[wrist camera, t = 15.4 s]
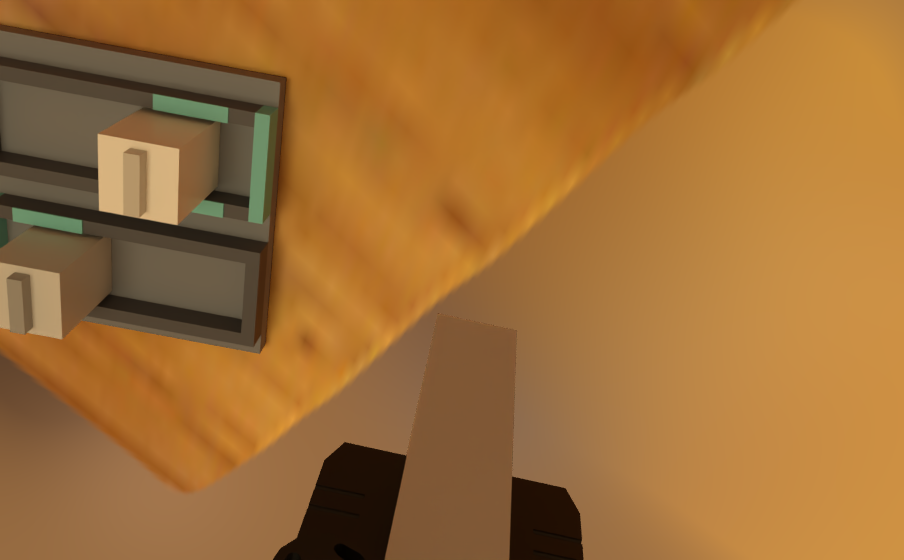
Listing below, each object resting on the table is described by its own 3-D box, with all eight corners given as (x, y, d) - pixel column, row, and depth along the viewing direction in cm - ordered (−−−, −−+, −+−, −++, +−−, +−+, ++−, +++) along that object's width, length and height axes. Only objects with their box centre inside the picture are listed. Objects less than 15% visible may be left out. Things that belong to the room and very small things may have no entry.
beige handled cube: (44, 218, 49) (-25, 265, 43) (111, 230, 49) (51, 280, 43) (47, 279, 51) (-19, 332, 45) (111, 290, 51) (54, 346, 45)
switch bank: (-9, 22, 46) (-42, 31, 43) (286, 77, 46) (271, 89, 43) (11, 296, 53) (-16, 317, 51) (265, 344, 53) (251, 367, 51)
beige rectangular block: (148, 104, 46) (89, 138, 40) (220, 117, 46) (172, 153, 40) (148, 173, 48) (91, 216, 41) (217, 186, 48) (171, 231, 41)
